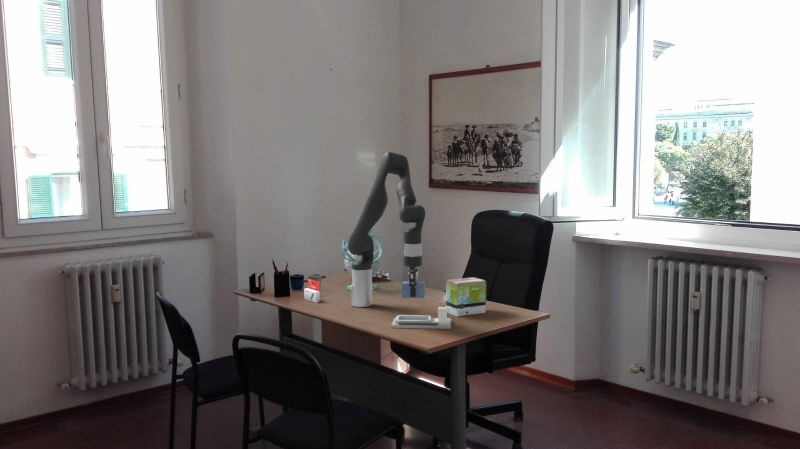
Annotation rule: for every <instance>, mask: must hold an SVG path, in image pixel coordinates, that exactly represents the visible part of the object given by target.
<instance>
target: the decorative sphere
mask: <svg viewBox="0 0 800 449" xmlns="http://www.w3.org/2000/svg"><path fill="white" fill-rule="evenodd" d="M376 251H377V250H376V248H374V253H375V252H376ZM347 252H348V254H349V255H350V256H352V257H353V258H354V259H355V256H357V255H353V254H351V253H350V252H349V250H348V249H347ZM378 256H379V252H378V253H376V254H375V255H374V256H373V261H374V260H375V259H376V258H377V257H378ZM344 257H346V258H348V259H350V258H349V257H348V256H347V255H346V254H345V255H344ZM352 263H353V262H352V261H348V260H346V259H345V258H344V267H345V271H347V273H348V274H349V275H350V276H351V277H352ZM380 264H381V258H380V259H379V260H378V261H377V262H376V263H374V264H372V277H373V276H374V275H375V274H376V273H377V272H378V269H379V268H380Z"/></svg>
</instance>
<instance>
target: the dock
mask: <svg viewBox="0 0 800 449" xmlns="http://www.w3.org/2000/svg"><path fill="white" fill-rule="evenodd" d="M390 327H391V329H433V330H434V329H437V330H439V329H441V330H448V329H449V330H451V329H452V318H451V317H450V318H449V317H448V313H447V307H446V306H438V307H437V317H432V316H431V315H423V314H422V315H419V314H417V315H416V314H413V315H412V314H398V315H396V317H394V318H393V320H392V322H391V325H390Z"/></svg>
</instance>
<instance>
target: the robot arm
mask: <svg viewBox="0 0 800 449" xmlns="http://www.w3.org/2000/svg"><path fill="white" fill-rule="evenodd" d="M389 174H391V175H394V176H398V177H399V179H400V180H399V182H398V183H397V186H396V195H397V200H398V203H399V213H398V214H399V216H398V217H399V220H400V221H401V222H402V223H405V224H410V223H411V224H413V223H414V225H413V226H412V227H409V228H406V229H404V232H403V244H404V245H403V266H405V267H407V268H408V267H409V269H408V270H407V275H408V282H409V287H410V296H411V297H415V296H416V282H418V280H419V269H418V268H417V267H422V265H423V247H422V230H423V226H424V222H425V220H426V210H425V208H424V206H423V205H419V204H417V199H416V194H415V192H414V190H413V185H412V181H411V170H410V164H409V161H408V157H407V156H405V155H403V154H401V153H397V152H393V151H386V152H384V154H383V156H382V157H381V160H380V163H379V166H378V169H377V172H376V176H375V179H374V182H373V184H372V187H371V189H370V192H369V194H368V197H367V198H366V201H365V204H364V206H363V209H362V211H361V214H360V216H359V219H358V220H357V221H358V222H357V223H356V225H355V227H354V229H353V231H352V233H351V234H350V236H349V238H348V242H347V243H348V246H347V251H348V250H349V252H350V253H351V254H353V255H357V258H356V260H355V261H354V262H353V263H352V276H351V285H352V286H351V290H350V291H351V307H357V308H367V307H370V306H373V291H372V284H373V276H372V263H373V255H374V249H375V248H374V247H375V244H374V240H373V239H372V237H371V236H370V235H368V234H369V231H370V230H371V228H372V229H373V227H374V226H376V224H377V223H378V221H380V219H381V218H382V217H383V215H384V213H385V210H386V208H387V206H388V203H389V202H388V201H389V198H388V193H387V187H386V179H387V176H388V175H389ZM411 282H414V284H411Z"/></svg>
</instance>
